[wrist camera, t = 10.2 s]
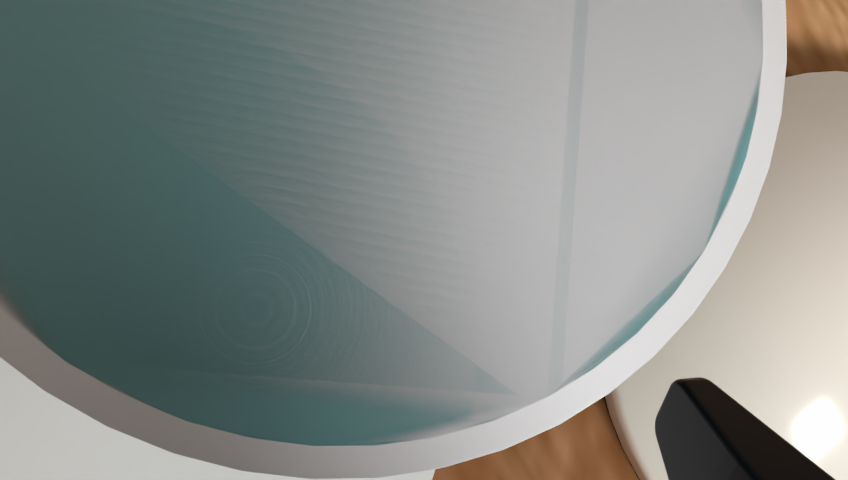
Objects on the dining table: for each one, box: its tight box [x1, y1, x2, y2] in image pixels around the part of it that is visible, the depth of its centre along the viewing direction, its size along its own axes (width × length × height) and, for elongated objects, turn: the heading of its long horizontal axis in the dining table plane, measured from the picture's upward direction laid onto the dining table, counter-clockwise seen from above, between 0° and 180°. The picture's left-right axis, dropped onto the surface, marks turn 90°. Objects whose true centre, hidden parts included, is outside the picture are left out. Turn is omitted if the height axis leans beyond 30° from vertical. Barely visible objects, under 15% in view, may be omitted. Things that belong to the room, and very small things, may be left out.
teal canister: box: [0, 0, 787, 479], centre depth 11 cm, size 6×6×12 cm
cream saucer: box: [605, 71, 848, 480], centre depth 20 cm, size 13×13×1 cm
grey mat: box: [0, 357, 435, 480], centre depth 17 cm, size 14×10×1 cm
